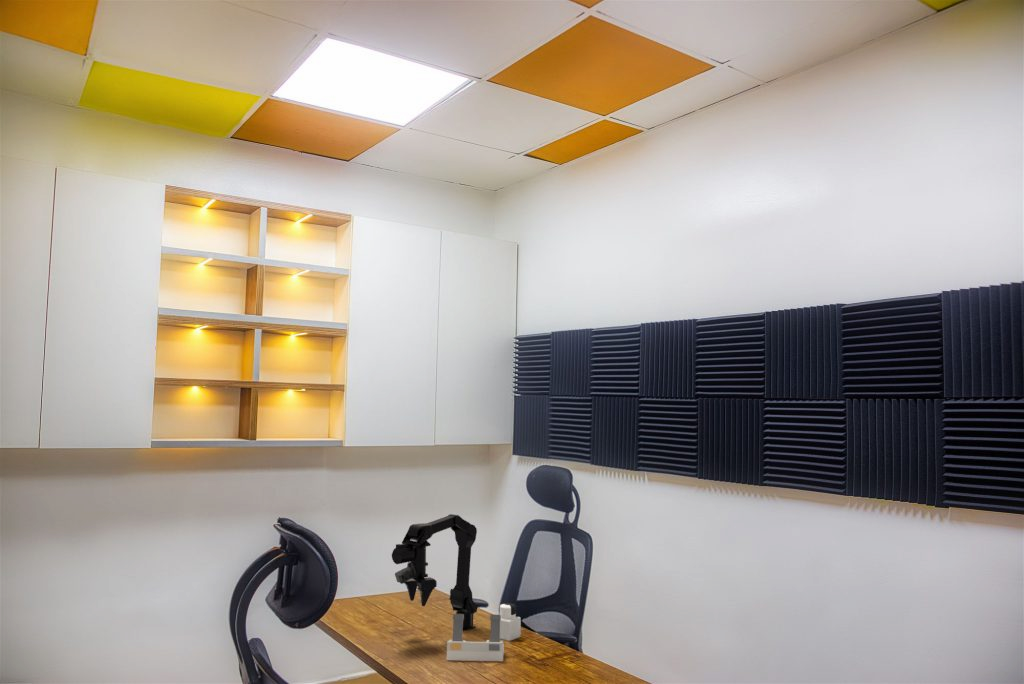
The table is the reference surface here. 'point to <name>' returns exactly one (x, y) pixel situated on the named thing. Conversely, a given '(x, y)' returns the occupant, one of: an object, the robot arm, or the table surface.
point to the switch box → (475, 651)
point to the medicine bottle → (509, 622)
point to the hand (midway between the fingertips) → (417, 603)
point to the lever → (495, 628)
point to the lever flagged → (458, 627)
